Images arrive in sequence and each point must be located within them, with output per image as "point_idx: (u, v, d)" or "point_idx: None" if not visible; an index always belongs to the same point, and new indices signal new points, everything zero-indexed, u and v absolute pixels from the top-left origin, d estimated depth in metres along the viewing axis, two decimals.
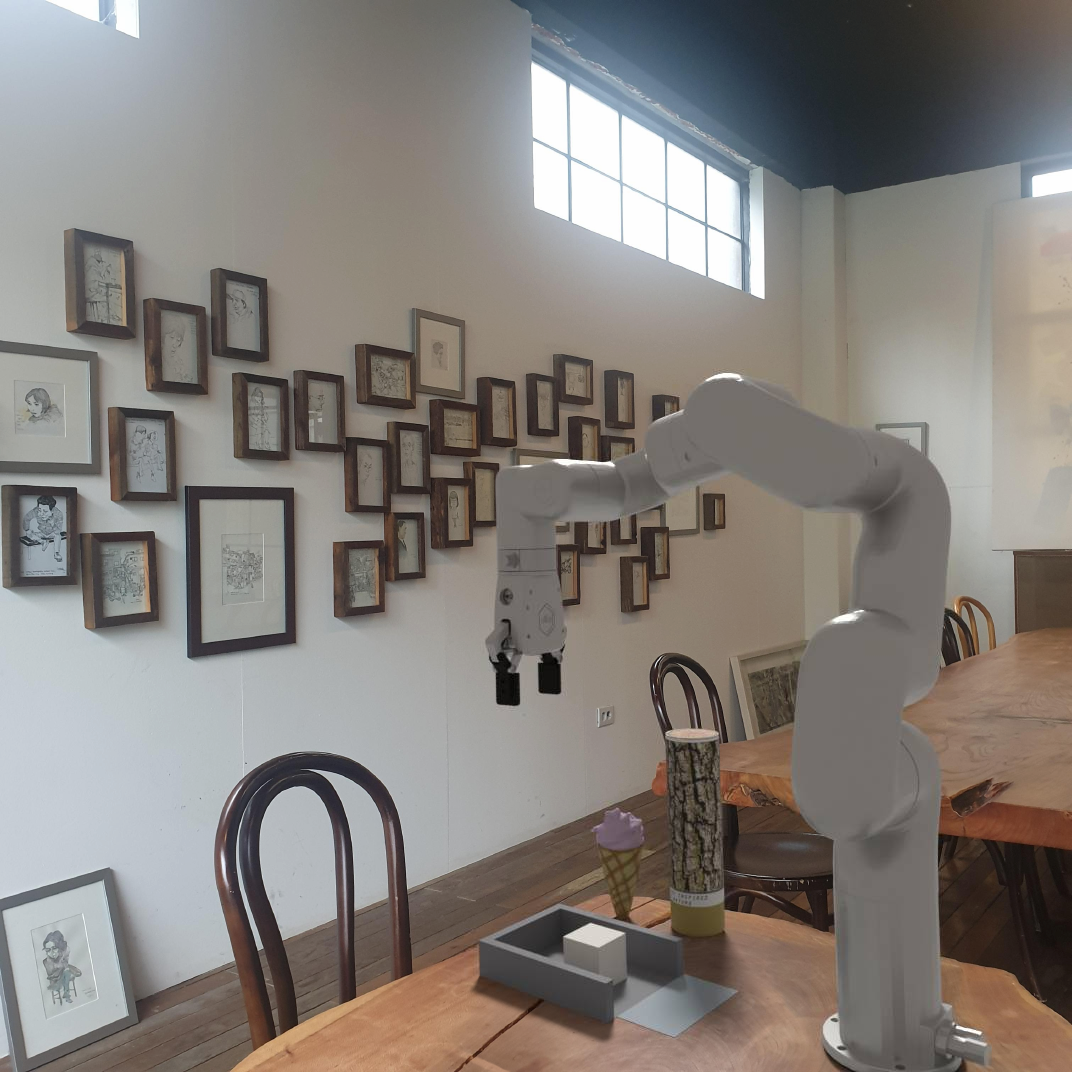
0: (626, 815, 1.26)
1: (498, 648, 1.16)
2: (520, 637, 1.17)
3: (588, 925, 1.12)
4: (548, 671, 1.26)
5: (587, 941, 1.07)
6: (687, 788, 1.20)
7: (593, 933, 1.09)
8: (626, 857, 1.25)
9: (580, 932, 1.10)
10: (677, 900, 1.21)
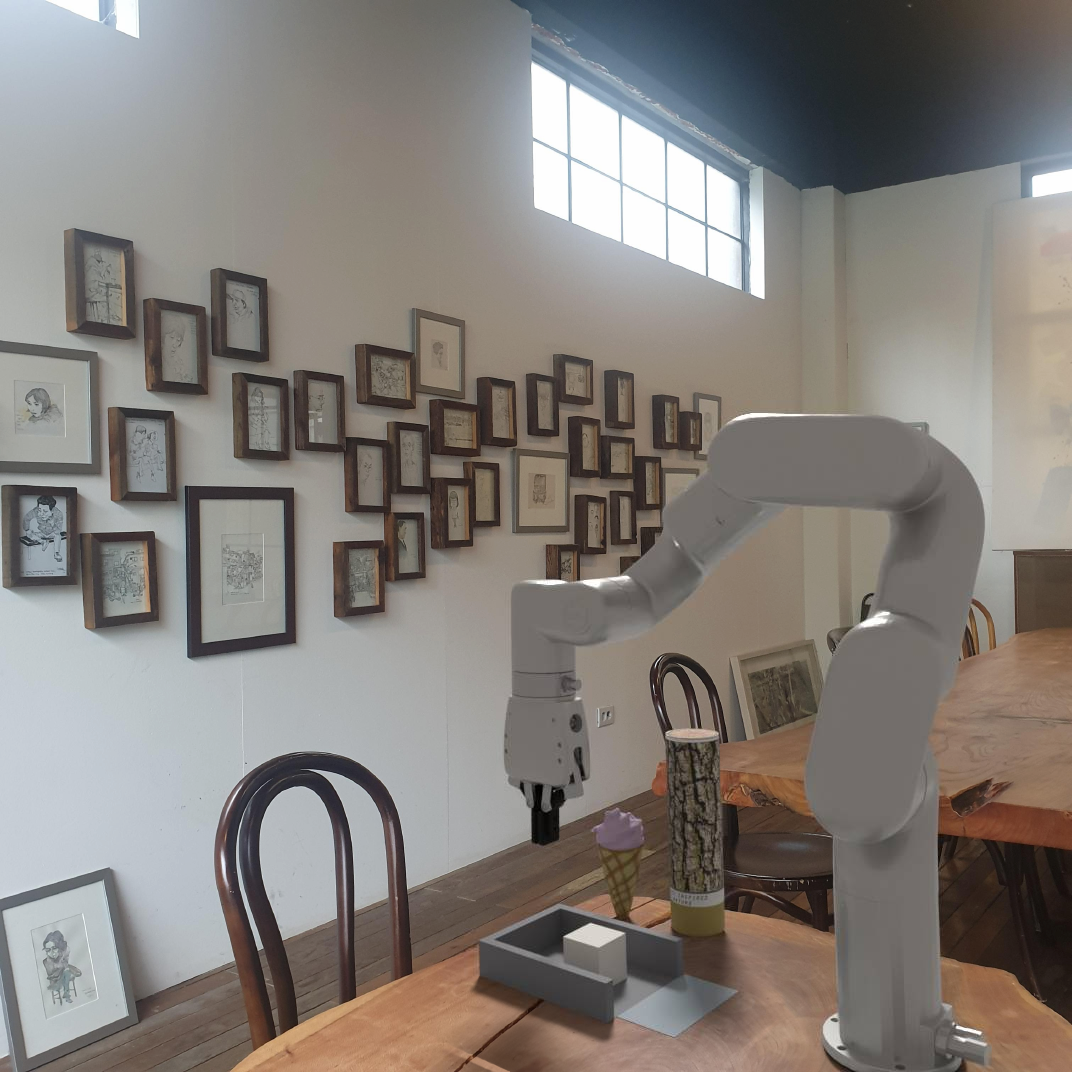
0: (626, 815, 1.26)
1: None
2: (589, 763, 1.12)
3: (588, 925, 1.12)
4: None
5: (587, 941, 1.07)
6: (687, 788, 1.20)
7: (593, 933, 1.09)
8: (626, 857, 1.25)
9: (580, 932, 1.10)
10: (677, 900, 1.21)
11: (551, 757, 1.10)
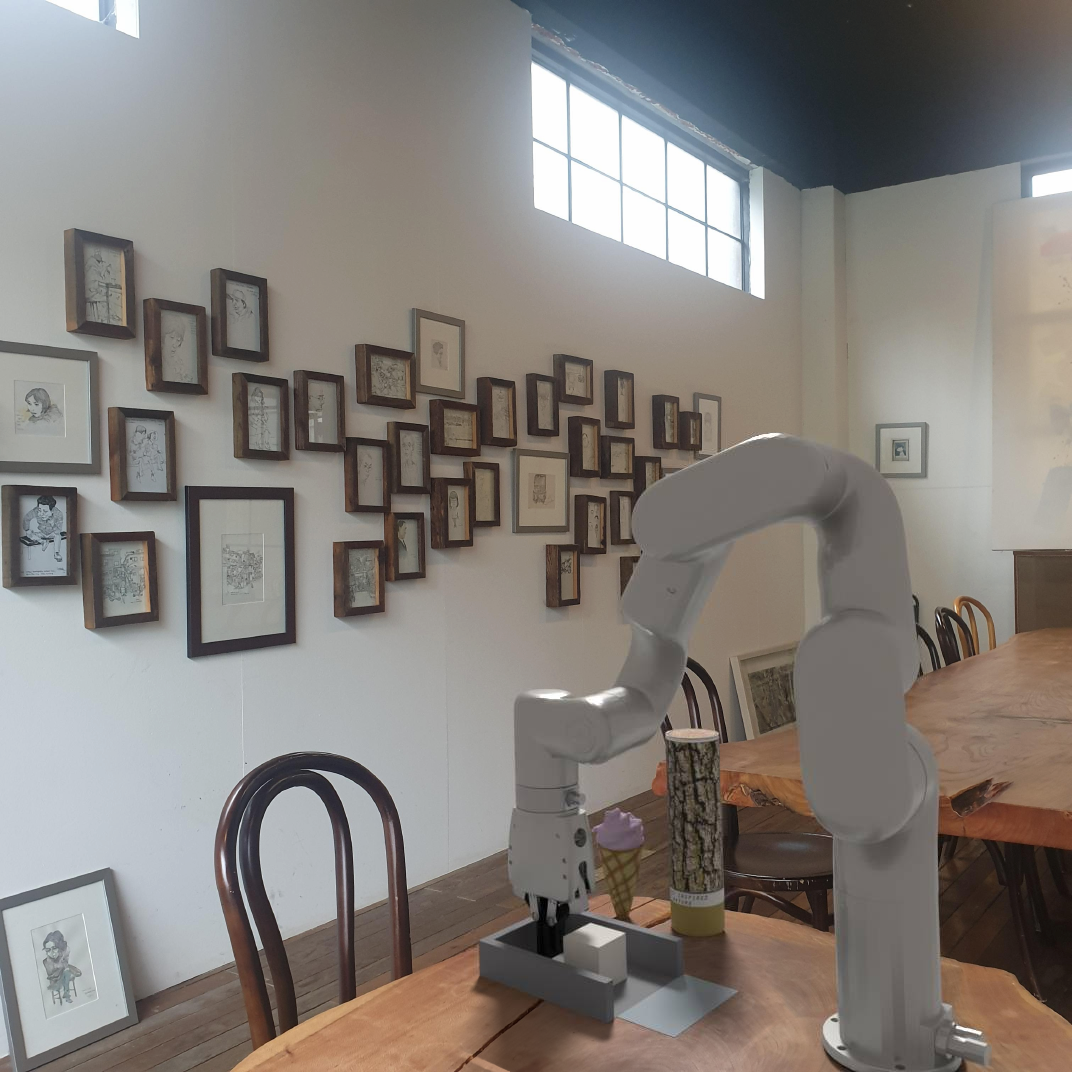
0: (626, 815, 1.26)
1: None
2: (594, 876, 1.11)
3: (588, 925, 1.12)
4: None
5: (587, 941, 1.07)
6: (687, 788, 1.20)
7: (593, 933, 1.09)
8: (626, 857, 1.25)
9: (580, 932, 1.10)
10: (677, 900, 1.21)
11: (556, 872, 1.09)
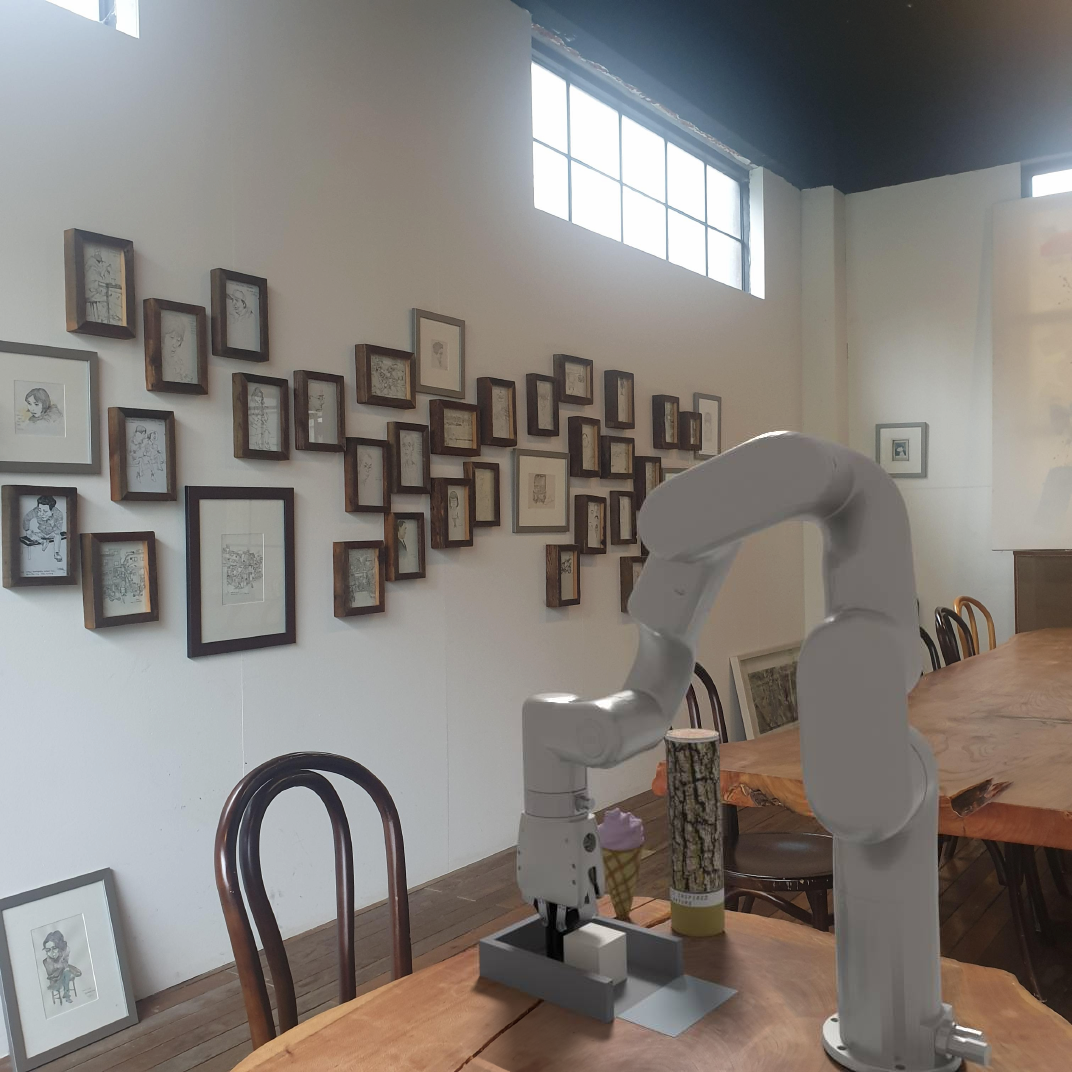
0: (626, 815, 1.26)
1: None
2: (603, 881, 1.11)
3: (589, 925, 1.12)
4: None
5: (587, 941, 1.07)
6: (687, 788, 1.20)
7: (593, 932, 1.09)
8: (626, 857, 1.25)
9: (581, 931, 1.10)
10: (677, 900, 1.21)
11: (565, 878, 1.09)
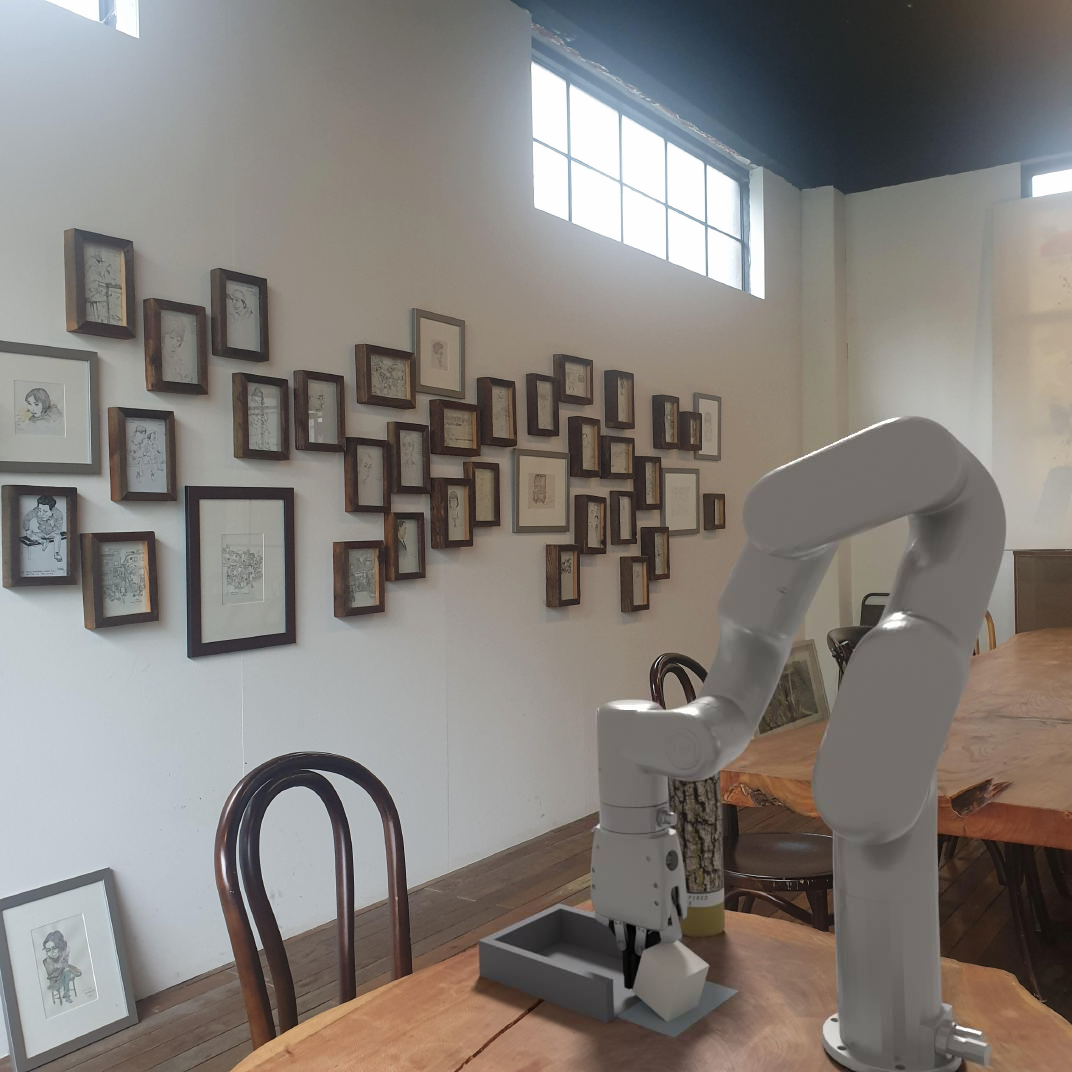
0: None
1: None
2: (686, 901, 1.03)
3: None
4: None
5: (668, 966, 0.99)
6: (687, 788, 1.20)
7: (675, 954, 1.01)
8: None
9: (662, 948, 1.02)
10: None
11: (646, 898, 1.01)
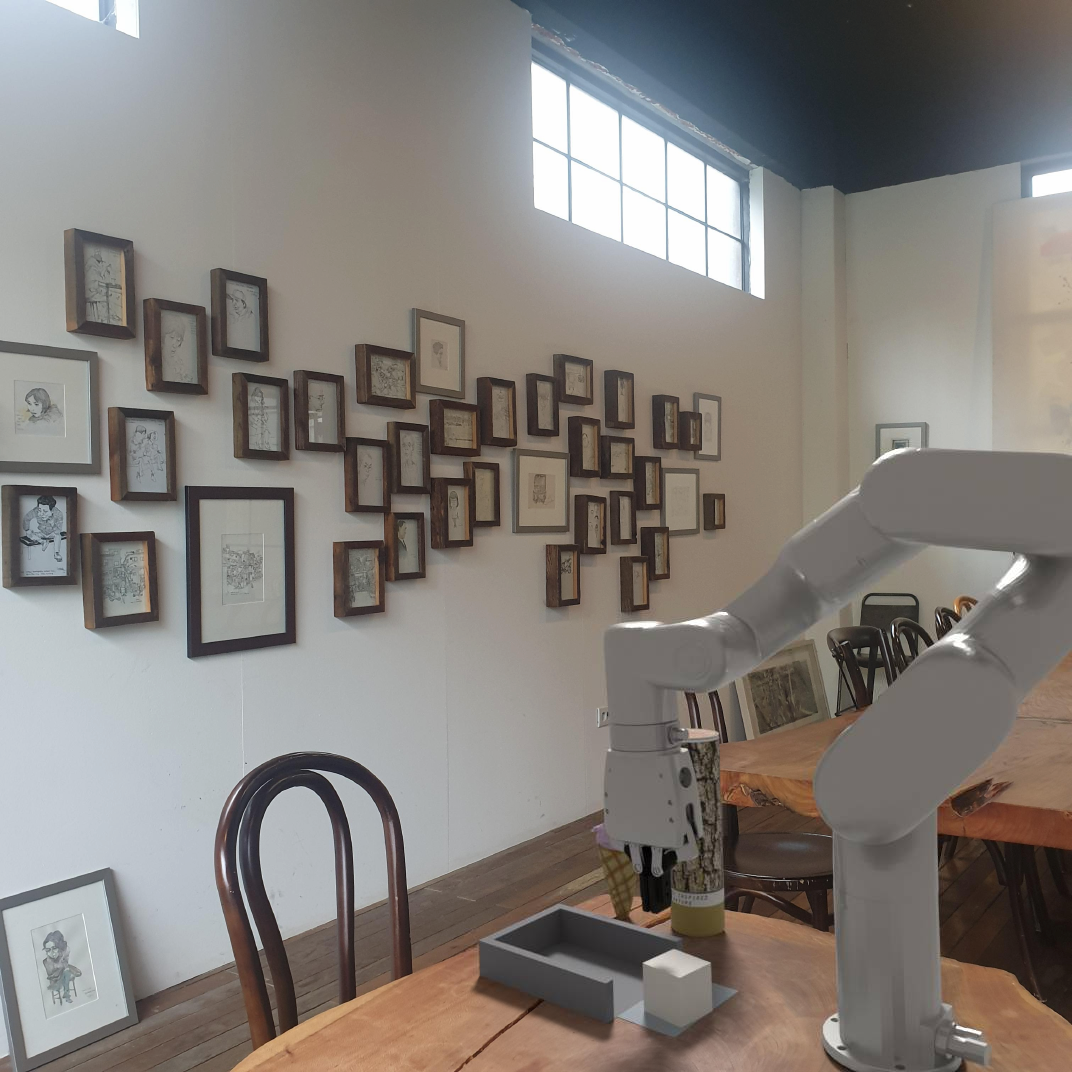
0: None
1: None
2: (701, 820, 1.02)
3: (671, 951, 1.04)
4: None
5: (668, 969, 0.99)
6: None
7: (675, 960, 1.01)
8: (626, 857, 1.25)
9: (662, 958, 1.02)
10: (677, 900, 1.21)
11: (661, 816, 1.00)
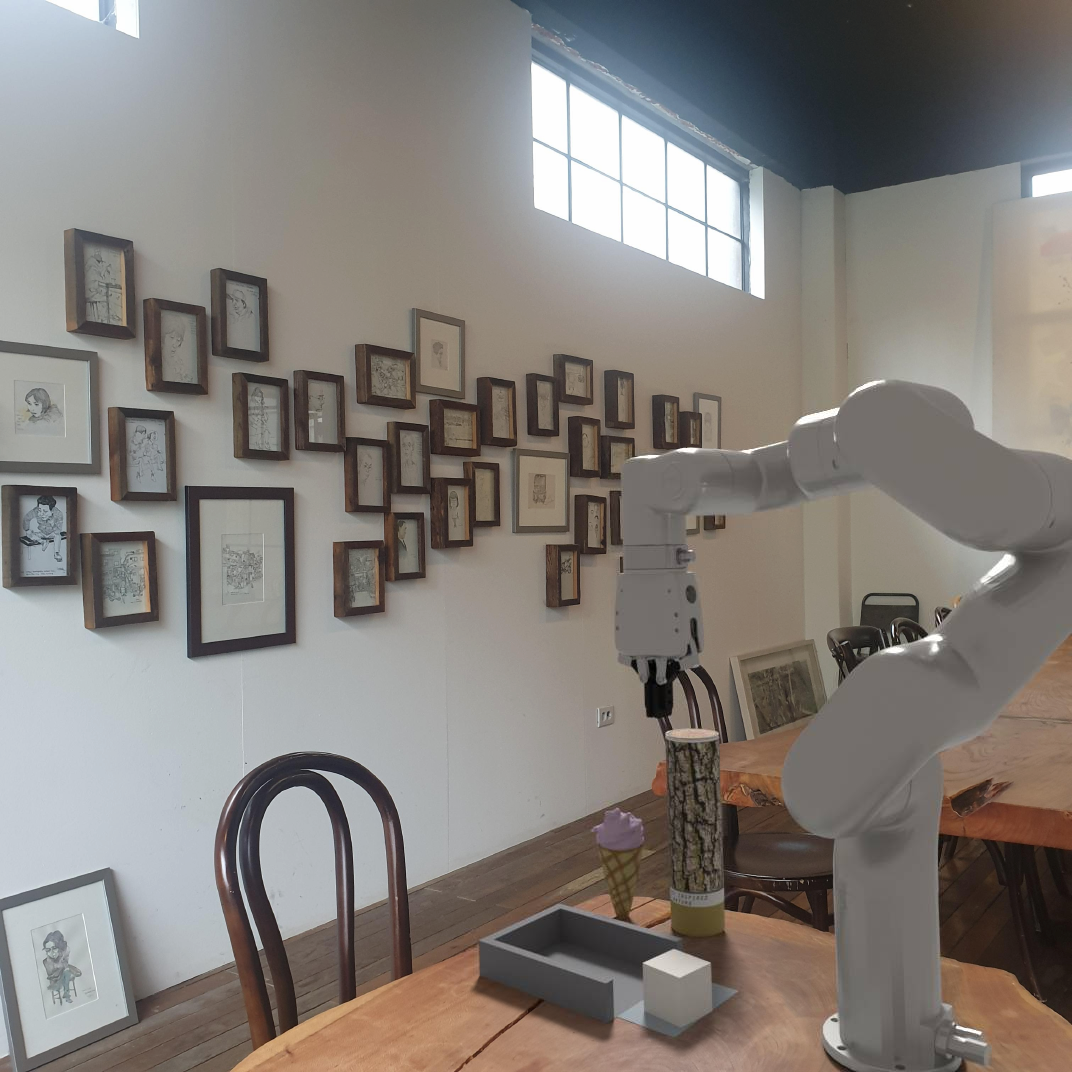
0: (626, 815, 1.26)
1: None
2: (703, 635, 1.13)
3: (671, 951, 1.04)
4: None
5: (668, 969, 0.99)
6: (687, 788, 1.20)
7: (675, 960, 1.01)
8: (626, 857, 1.25)
9: (662, 958, 1.02)
10: (677, 900, 1.21)
11: (667, 628, 1.11)
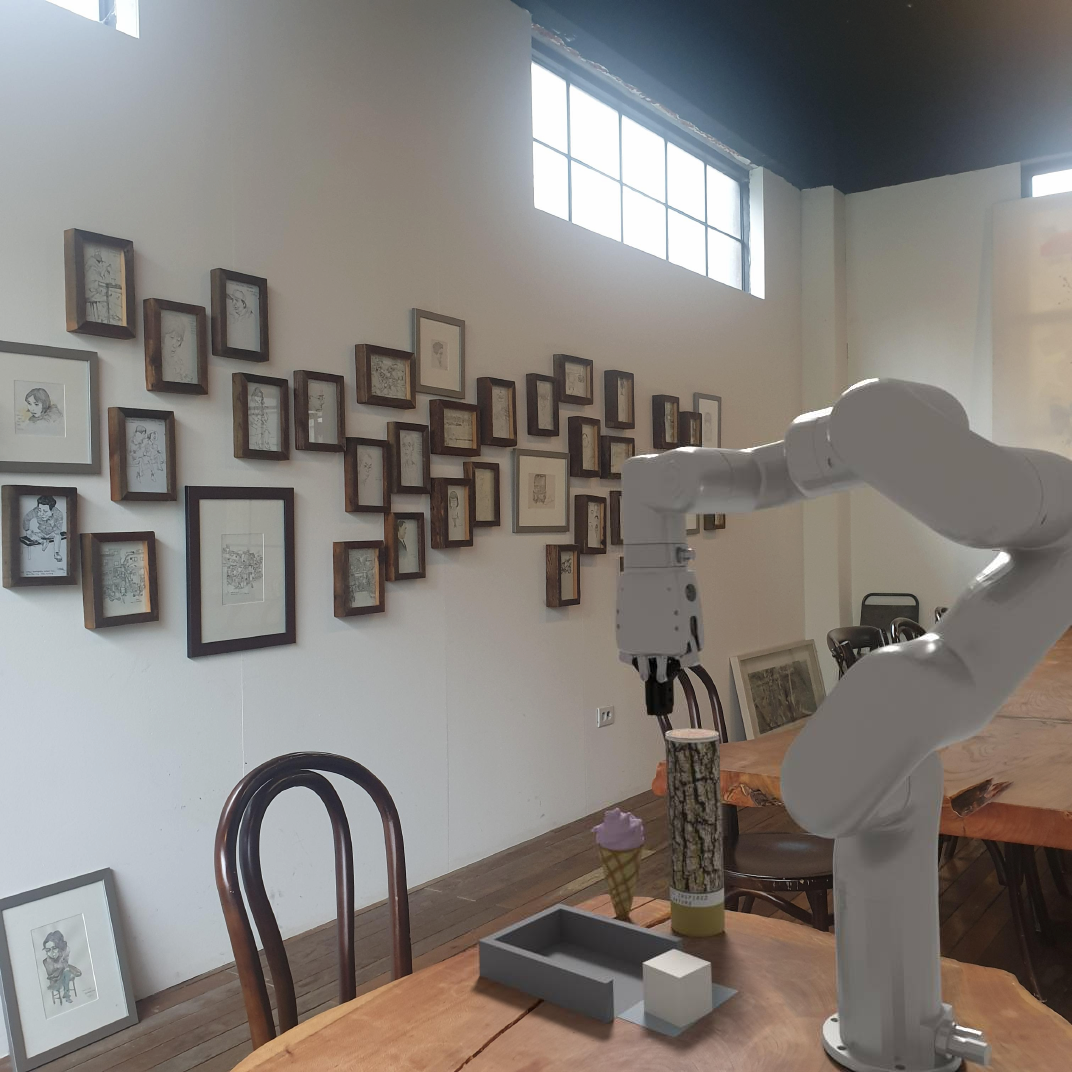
0: (626, 815, 1.26)
1: None
2: (703, 633, 1.13)
3: (671, 951, 1.04)
4: None
5: (668, 969, 0.99)
6: (687, 788, 1.20)
7: (675, 960, 1.01)
8: (626, 857, 1.25)
9: (662, 958, 1.02)
10: (677, 900, 1.21)
11: (667, 626, 1.11)
